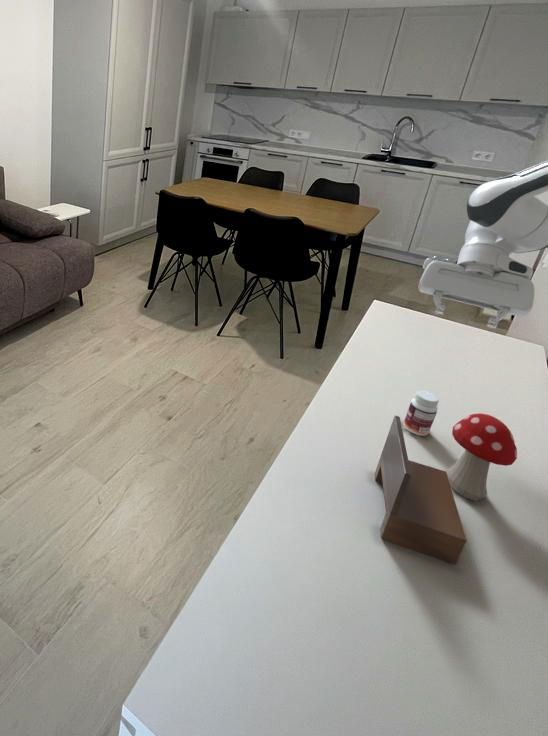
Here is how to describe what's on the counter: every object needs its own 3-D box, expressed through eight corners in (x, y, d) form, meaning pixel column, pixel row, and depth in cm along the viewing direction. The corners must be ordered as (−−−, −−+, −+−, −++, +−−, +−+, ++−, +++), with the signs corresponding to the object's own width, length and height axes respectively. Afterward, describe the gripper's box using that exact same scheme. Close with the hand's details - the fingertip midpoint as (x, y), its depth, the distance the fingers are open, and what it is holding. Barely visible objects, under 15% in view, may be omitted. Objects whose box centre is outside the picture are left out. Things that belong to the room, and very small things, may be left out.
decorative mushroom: (508, 509, 86) (543, 438, 80) (462, 509, 85) (494, 438, 79) (465, 468, 95) (493, 402, 89) (423, 467, 94) (448, 401, 89)
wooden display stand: (437, 493, 88) (461, 433, 83) (455, 565, 74) (486, 498, 69) (374, 473, 91) (394, 415, 87) (380, 538, 78) (405, 473, 73)
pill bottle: (403, 419, 108) (415, 386, 105) (429, 428, 106) (441, 395, 103) (401, 429, 105) (413, 396, 102) (427, 439, 102) (440, 405, 99)
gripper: (429, 247, 113) (411, 298, 109) (543, 271, 102) (529, 328, 98) (424, 261, 118) (407, 311, 114) (532, 285, 108) (518, 340, 104)
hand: (464, 319), depth 106 cm, fingers open, 8 cm apart
